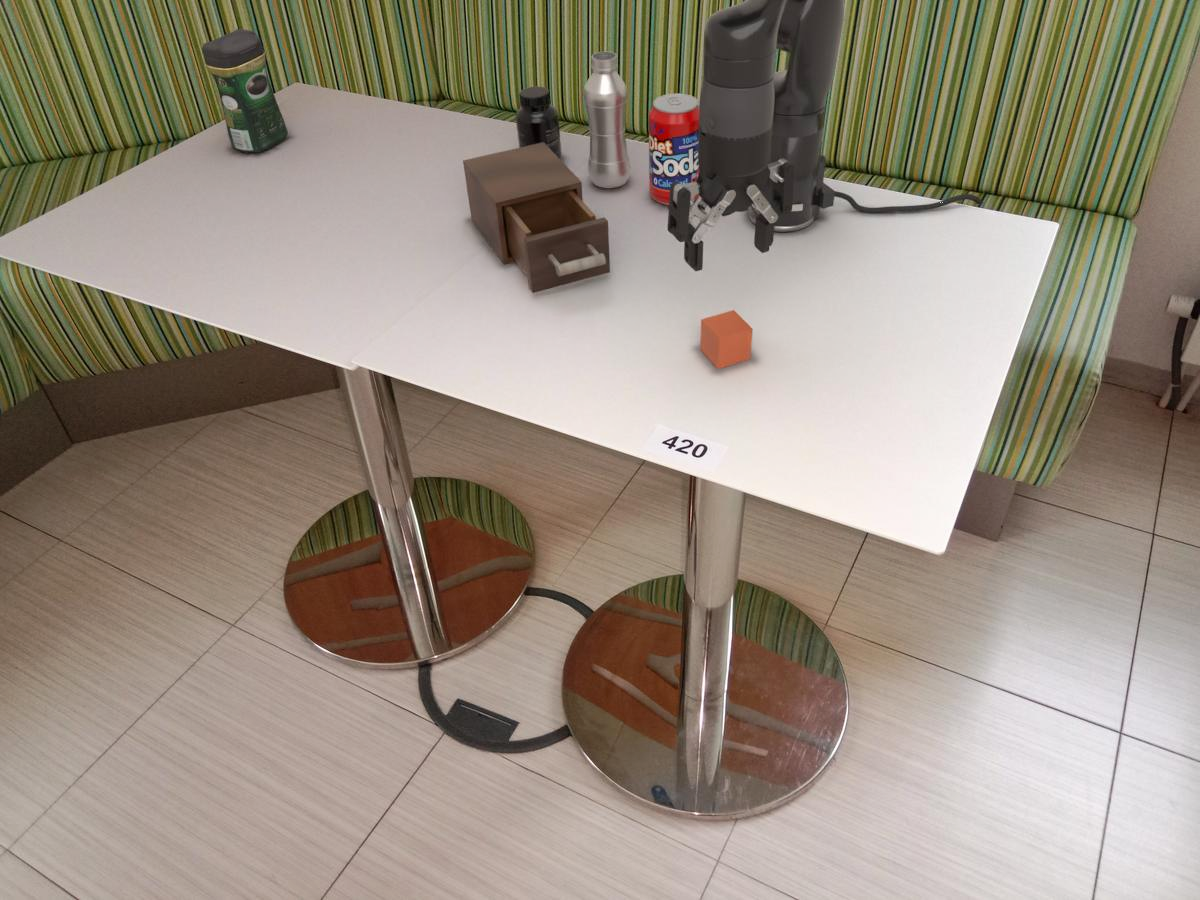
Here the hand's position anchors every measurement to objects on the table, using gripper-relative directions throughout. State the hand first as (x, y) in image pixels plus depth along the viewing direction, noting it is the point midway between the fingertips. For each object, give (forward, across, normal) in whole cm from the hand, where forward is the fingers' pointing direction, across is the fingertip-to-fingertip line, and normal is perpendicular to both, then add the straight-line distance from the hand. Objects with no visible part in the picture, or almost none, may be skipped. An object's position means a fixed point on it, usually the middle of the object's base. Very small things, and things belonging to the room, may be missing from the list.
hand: (728, 258), depth 110 cm
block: (+13, 0, 0) cm, 13 cm away
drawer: (+13, +11, -27) cm, 31 cm away
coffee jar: (+14, +42, -92) cm, 102 cm away
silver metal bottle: (+14, -6, -48) cm, 50 cm away
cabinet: (+13, +11, -40) cm, 43 cm away
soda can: (+14, -13, -39) cm, 43 cm away
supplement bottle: (+14, +1, -60) cm, 61 cm away
